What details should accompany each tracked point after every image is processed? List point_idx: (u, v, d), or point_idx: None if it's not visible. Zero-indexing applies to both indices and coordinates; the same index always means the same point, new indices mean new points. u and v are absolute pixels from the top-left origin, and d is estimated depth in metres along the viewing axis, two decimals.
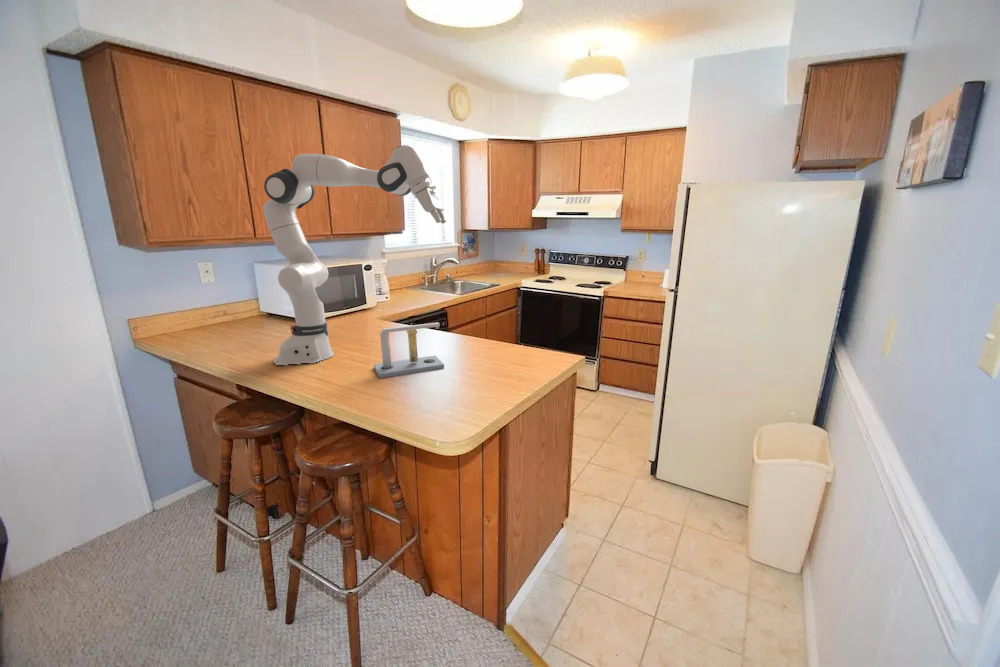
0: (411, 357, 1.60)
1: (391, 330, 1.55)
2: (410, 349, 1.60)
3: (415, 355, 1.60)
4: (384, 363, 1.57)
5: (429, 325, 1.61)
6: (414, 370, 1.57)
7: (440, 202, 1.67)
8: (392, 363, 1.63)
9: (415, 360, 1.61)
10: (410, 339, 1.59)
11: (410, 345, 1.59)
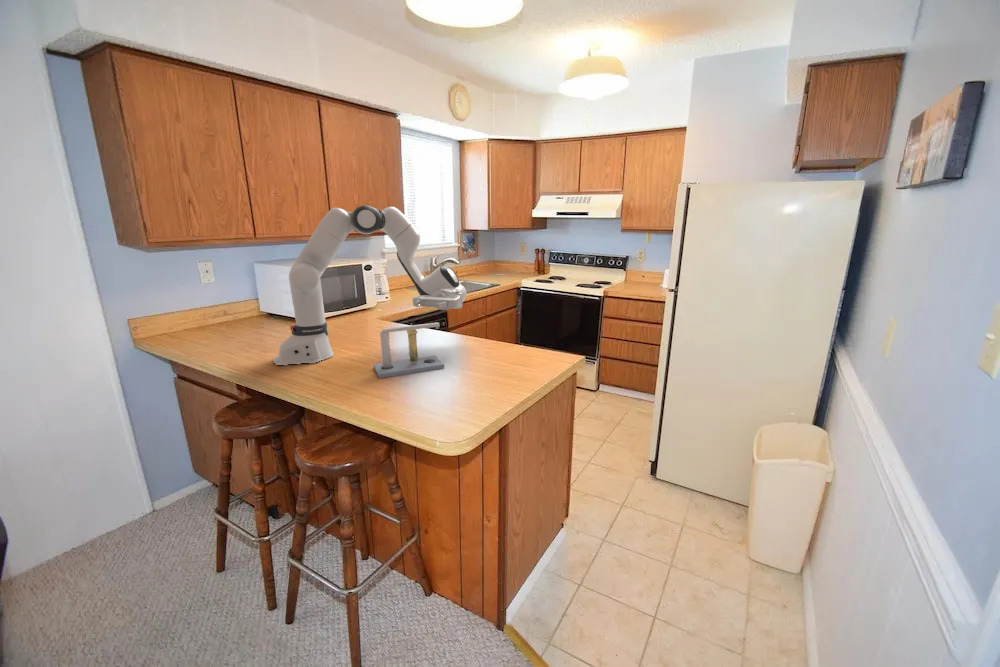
0: (411, 357, 1.60)
1: (391, 330, 1.55)
2: (410, 349, 1.60)
3: (415, 355, 1.60)
4: (384, 363, 1.57)
5: (429, 325, 1.61)
6: (414, 370, 1.57)
7: None
8: (392, 363, 1.63)
9: (415, 360, 1.61)
10: (410, 339, 1.59)
11: (410, 345, 1.59)
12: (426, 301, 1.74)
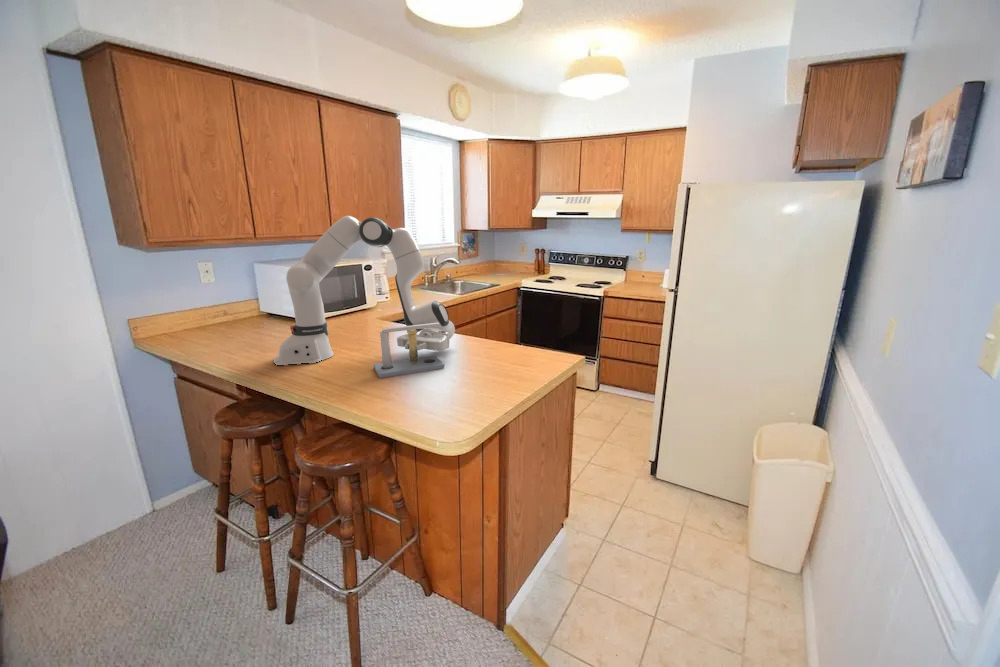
0: (411, 357, 1.60)
1: (391, 330, 1.55)
2: (410, 349, 1.60)
3: (415, 355, 1.60)
4: (384, 363, 1.57)
5: (429, 325, 1.61)
6: (414, 370, 1.57)
7: None
8: (392, 363, 1.63)
9: (415, 360, 1.61)
10: (410, 339, 1.59)
11: (410, 345, 1.59)
12: None
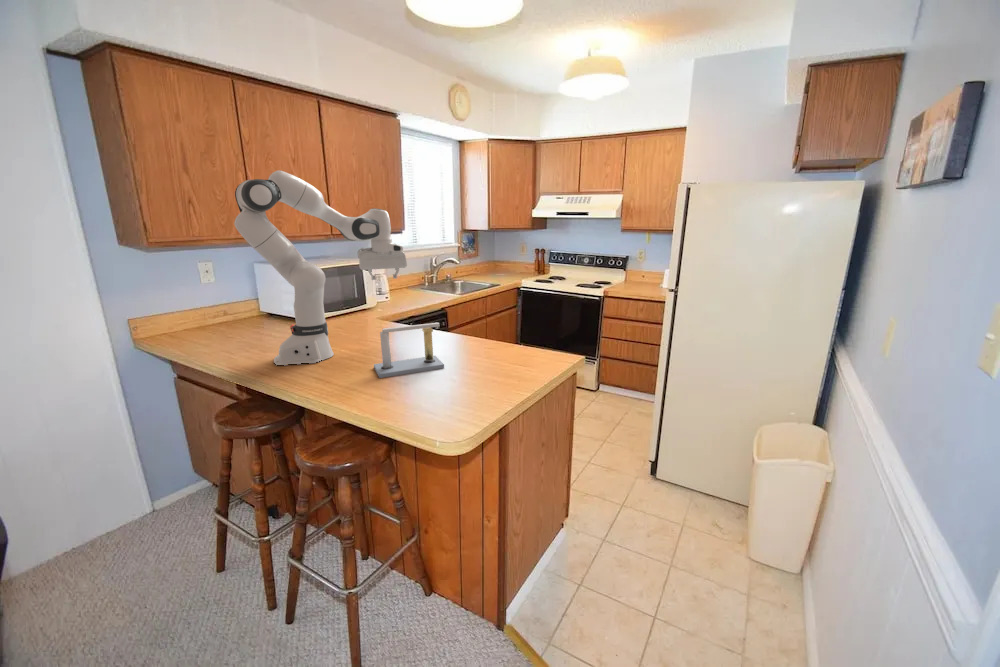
0: (427, 355, 1.63)
1: (391, 330, 1.55)
2: (426, 347, 1.62)
3: (431, 353, 1.63)
4: (384, 363, 1.57)
5: (429, 325, 1.61)
6: (414, 370, 1.57)
7: None
8: (392, 363, 1.63)
9: (430, 358, 1.63)
10: (426, 337, 1.61)
11: (426, 343, 1.62)
12: None
